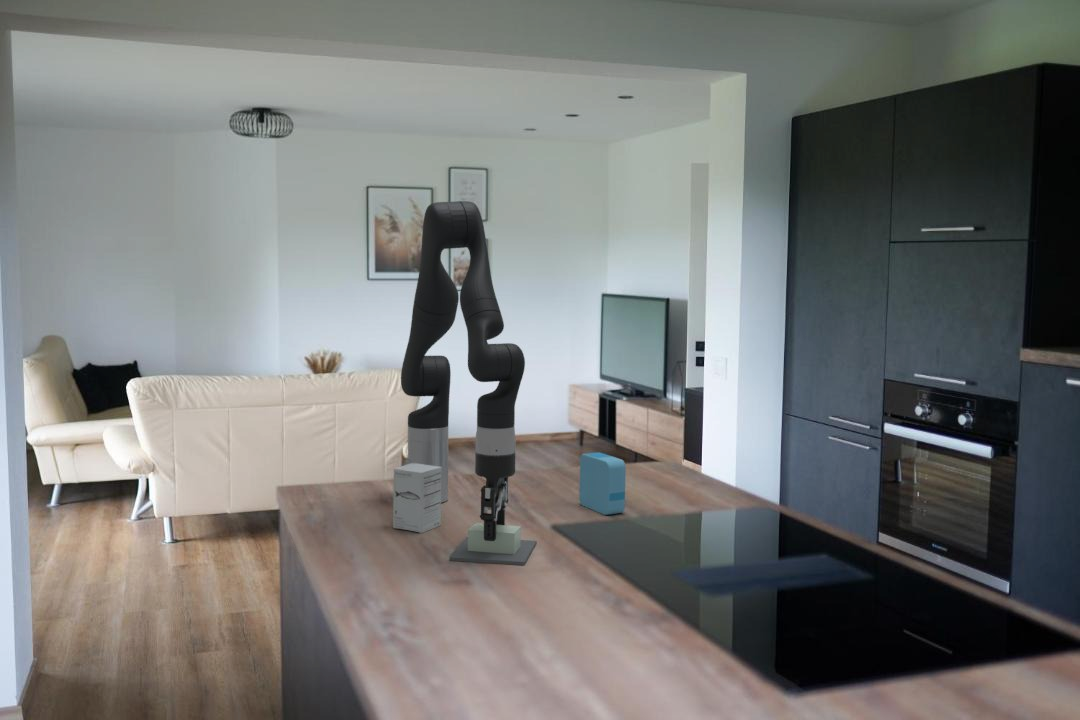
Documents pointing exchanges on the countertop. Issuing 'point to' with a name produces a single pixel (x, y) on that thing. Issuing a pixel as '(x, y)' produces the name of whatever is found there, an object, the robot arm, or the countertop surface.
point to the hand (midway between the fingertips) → (494, 534)
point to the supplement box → (417, 497)
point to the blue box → (602, 483)
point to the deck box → (504, 542)
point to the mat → (494, 554)
